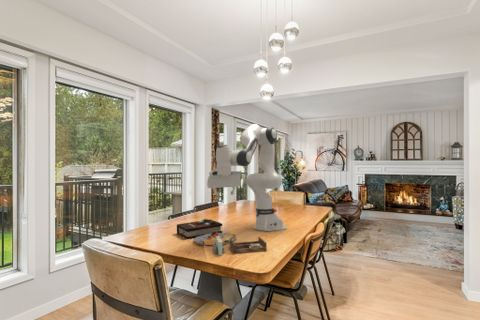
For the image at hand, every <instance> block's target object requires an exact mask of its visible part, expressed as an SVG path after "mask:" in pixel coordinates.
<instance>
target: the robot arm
mask: <svg viewBox="0 0 480 320" xmlns="http://www.w3.org/2000/svg"><path fill="white" fill-rule="evenodd" d="M239 137H240V142H241V144H242V145H243V146H244V147H245V149H237V150H235V149H232V148H231V146H230V145H229V144H221V145H218V146H217V147H216V152H215V160H216V167H215V169H213V170H210V171H209V173H208V177H207V182H206V186H207V188H208V189H212V190H213V192H214V194H215V195H214V196H219V192H218V191H216V190H217V188H219V189H220V188H232V190H231V191H230V195H234V192H235V191H236V188H237V187H238V188H239V187H241V186H242V181H241V178H242V174H241V172H240V171H232V167H233V166H234V167H247V166H249V165H250V164H251V162H252V159H253V155H254V154H255V151H256V150H257V148H258V145H259V146H261V147H260V150H259V156H258V166H259V168H260V169H262V170H263V171H264V172H263V173H262V172H255V173H254V172H253V173H250V174H248V175H247V176H246V181H245V182H246V185H247V187H248V188H250V189H251V190H252V191H253V193H254V196H255V206H256V207H255V218H256V219H255V222H254V223H255V224H254V229H255V230H257V231H265V232H273V231H281V230H287V226H286V225H285V224H284V221H283V219H282V218H281V217H280V216H279V215H278V214H276V213H277V211H278V210H277V209H276V208H273V199H272V196H271V195H270V194H269V193H267V192H266V191H265V189H266V190H274V189H279V188H280V187H281V186H282V183H283V180H282V176H281V175H280V174H278V173H277V171H276V170H275V157H276V156H275V154H276V151H275V150H276V149H275V142H276V140H277V138H278V132H277V129H275V128H274V127H271V126H270V127H269V126H268V127H264V128H261V126H260V125H259V124H256V123H253V124H250V125H249V126H248V127H246V128H245V129H244V130H243V132H242V133H241V134H240V136H239Z"/></svg>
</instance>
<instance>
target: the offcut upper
mask: <svg viewBox="0 0 480 320" xmlns="http://www.w3.org/2000/svg"><path fill="white" fill-rule="evenodd" d="M250 247H252V248H257V247H261V245H259V244H251V245H250Z"/></svg>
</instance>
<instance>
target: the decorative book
mask: <svg viewBox="0 0 480 320" xmlns="http://www.w3.org/2000/svg"><path fill="white" fill-rule="evenodd" d="M222 227H223V223H221V222H219V221H215V220H213V219H208V218H204V219H201V220H198V221H192V222H191V221H190V222H184V223H177V224H176V235H178V236H180V237H182V238H183V237H184V238H183V239H185V238H186V239H185V240H192V238H193V239H194V238H196V237H198V236H201V235H205V234H211V233H213V232H217V233H223V230H221V229H222Z"/></svg>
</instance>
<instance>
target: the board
mask: <svg viewBox="0 0 480 320" xmlns="http://www.w3.org/2000/svg"><path fill="white" fill-rule="evenodd" d="M215 243H216V245H215V246H216V248H217V254H218V256H223V253H222V245H223V241H222V239H220V237H219V236H216V239H215Z"/></svg>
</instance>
